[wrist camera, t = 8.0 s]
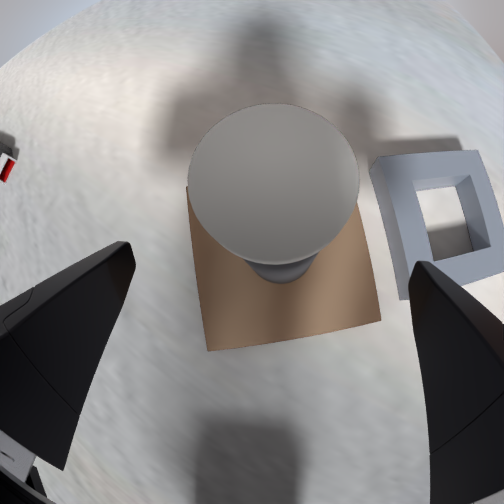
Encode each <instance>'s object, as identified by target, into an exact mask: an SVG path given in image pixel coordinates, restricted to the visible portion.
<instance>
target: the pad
mask: <svg viewBox="0 0 504 504" xmlns="http://www.w3.org/2000/svg"><path fill="white" fill-rule="evenodd" d="M186 192H187V203H188V212H189V222H190V231H191V239H192V248H193V256H194V264H195V271H196V279H197V286H198V293H199V300H200V307H201V313H202V320H203V326H204V332H205V338H206V344H207V350H208V351H216V350H224V349H232V348H240V347H247V346H254V345H261V344H267V343H274V342H280V341H286V340H292V339H297V338H303V337H308V336H314V335H319V334H324V333H329V332H334V331H338V330H343V329H348V328H352V327H357V326H361V325H365V324H369V323H374V322H378V321H381V314H380V308H379V302H378V296H377V290H376V285H375V279H374V274H373V269H372V264H371V259H370V255H369V250H368V246H367V241H366V237H365V232H364V228H363V224H362V220H361V216H360V212H359V208H358V204H357V202H356V205H355V207H354V210H353V212H352V214H351V216H350V218H349V220H348V221H347V223H346V224H345V225H344V227H343V228H342V229H341V231H340V232H339V233H338V235H337V236H336V237H335V239H333V240H332V241H331V242H330V243H329V244H328V245H327V246H326V247H325V248H323V249H322V250H321V251H319V253H318V254H317V256H316V258H315V259H314V261H313V262H312V264H311V265H310V267H309V268H308V270H307V271H306V272H305V273H304V274H303V275H302V276H301V277H300V278H298V279H297V280H295V281H292V282H290V283H284V284H277V283H272V282H269V281H266V280H264V279H263V278H261V277H260V276H259V275H258V274H257V273H256V272H255V271H254V270H253V269H252V268H251V267H250V266H249V265H248V264H247V263H246V262H245V260H244V259H243V258H241V257H239V256H237V255H235V254H233V253H231V252H230V251H228V250H227V249H225V248H224V247H223V246H222V245H221V244H219V243H218V242H217V241H216V240H215V239H214V238H213V237H212V236H211V235H210V234H209V233H208V232H207V231H206V230H205V229H204V228H203V226H202V225H201V223H200V222H199V220H198V219H197V217H196V215H195V213H194V211H193V209H192V205H191V202H190V199H189V193H188V186H187V187H186Z"/></svg>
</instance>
